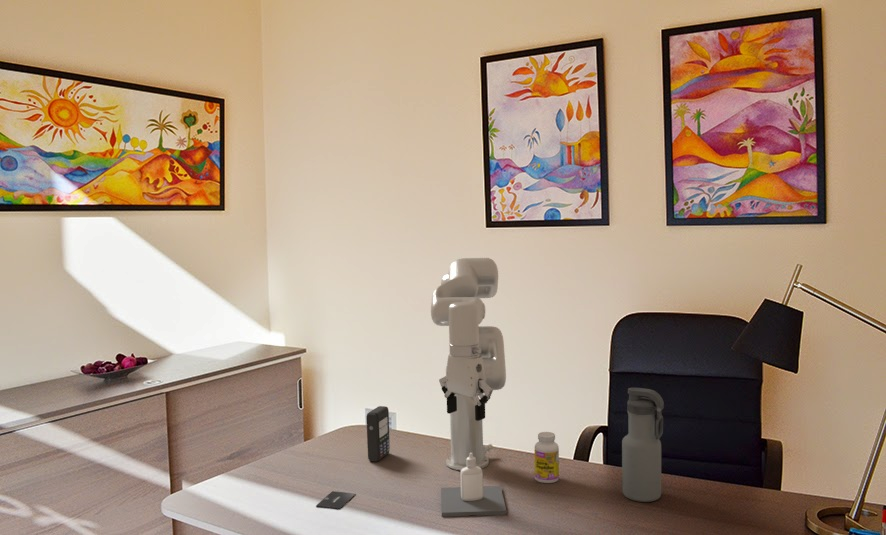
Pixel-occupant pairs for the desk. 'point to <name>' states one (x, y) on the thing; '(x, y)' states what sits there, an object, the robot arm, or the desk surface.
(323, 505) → the solid state drive
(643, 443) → the water bottle
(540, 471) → the supplement bottle
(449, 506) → the charcoal mat
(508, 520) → the desk surface
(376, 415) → the card reader
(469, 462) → the eye dropper bottle
